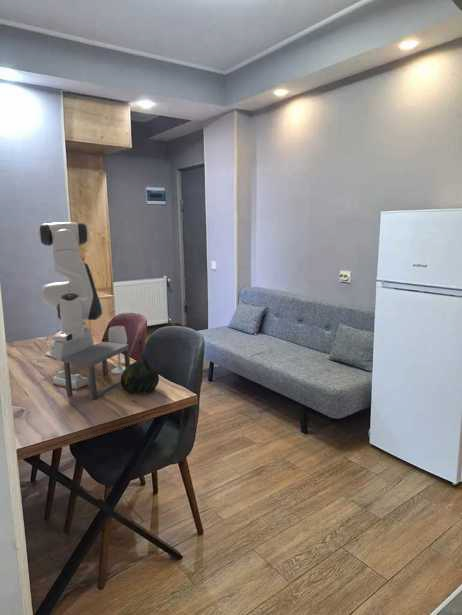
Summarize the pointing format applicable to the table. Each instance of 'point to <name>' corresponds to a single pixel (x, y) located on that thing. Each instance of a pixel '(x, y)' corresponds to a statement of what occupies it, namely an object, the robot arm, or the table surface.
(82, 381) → the tray
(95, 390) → the side table
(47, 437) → the table surface
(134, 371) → the squash
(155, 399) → the table surface
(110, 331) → the wineglass
